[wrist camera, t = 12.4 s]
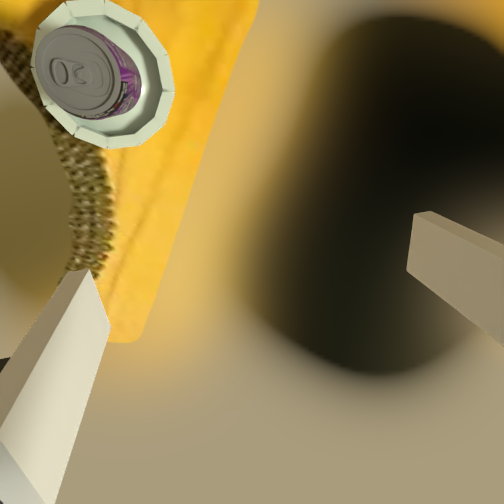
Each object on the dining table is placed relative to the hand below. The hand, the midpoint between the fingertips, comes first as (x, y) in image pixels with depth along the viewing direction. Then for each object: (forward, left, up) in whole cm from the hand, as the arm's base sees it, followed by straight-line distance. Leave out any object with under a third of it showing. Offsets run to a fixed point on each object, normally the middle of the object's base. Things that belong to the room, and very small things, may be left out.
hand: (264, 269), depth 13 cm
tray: (-9, -10, -33) cm, 35 cm away
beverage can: (-9, -10, -32) cm, 35 cm away
